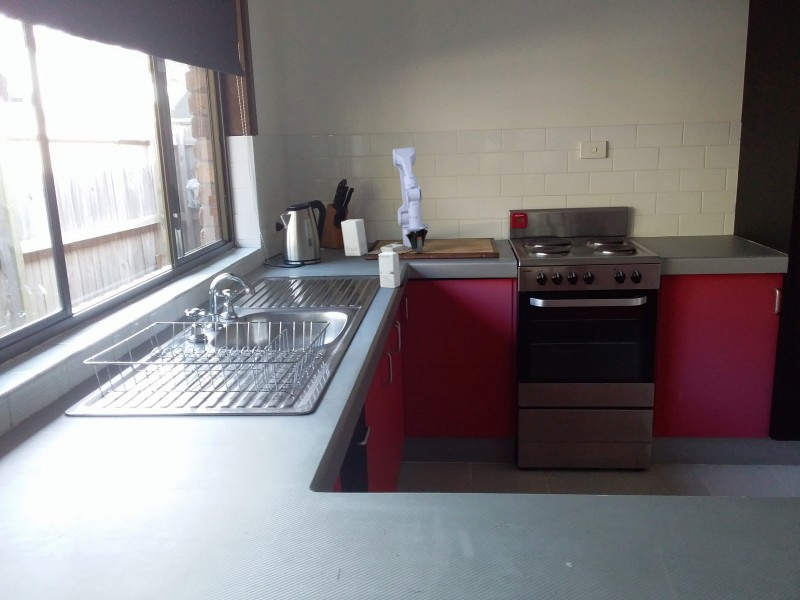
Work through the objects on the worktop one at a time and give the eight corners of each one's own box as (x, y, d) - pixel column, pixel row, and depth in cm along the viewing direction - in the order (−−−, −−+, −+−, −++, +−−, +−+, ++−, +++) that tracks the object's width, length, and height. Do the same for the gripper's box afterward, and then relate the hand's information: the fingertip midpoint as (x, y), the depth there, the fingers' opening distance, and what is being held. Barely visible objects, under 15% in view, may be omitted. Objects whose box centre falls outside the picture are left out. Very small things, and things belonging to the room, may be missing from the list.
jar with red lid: (417, 250, 303) (416, 235, 301) (424, 251, 300) (423, 236, 299) (411, 252, 300) (410, 237, 298) (418, 252, 297) (417, 237, 296)
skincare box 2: (380, 287, 246) (376, 254, 242) (386, 284, 249) (383, 251, 246) (395, 288, 242) (392, 254, 239) (401, 285, 246) (398, 251, 243)
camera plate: (394, 247, 318) (394, 240, 318) (418, 249, 309) (417, 242, 308) (367, 255, 306) (366, 248, 305) (391, 257, 296) (390, 250, 296)
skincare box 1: (368, 253, 311) (364, 218, 307) (359, 256, 305) (356, 221, 301) (352, 252, 315) (349, 218, 311) (344, 256, 310) (340, 221, 306)
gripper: (411, 219, 289) (414, 251, 292) (433, 213, 299) (435, 245, 302) (398, 219, 293) (401, 250, 297) (420, 213, 303) (423, 244, 307)
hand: (417, 247), depth 300 cm, fingers closed on jar with red lid, 4 cm apart
